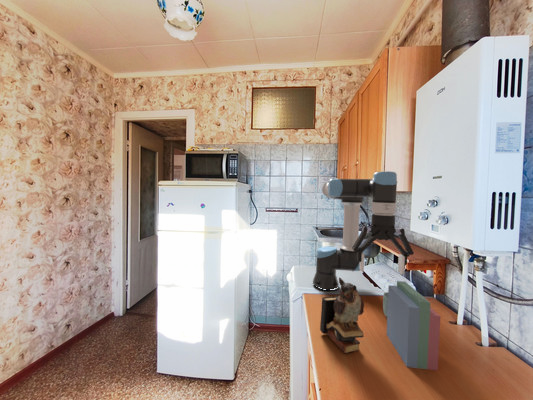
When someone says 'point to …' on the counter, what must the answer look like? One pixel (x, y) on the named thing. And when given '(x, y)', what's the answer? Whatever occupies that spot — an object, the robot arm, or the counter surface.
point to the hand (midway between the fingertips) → (380, 271)
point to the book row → (413, 327)
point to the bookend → (343, 317)
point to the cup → (385, 303)
